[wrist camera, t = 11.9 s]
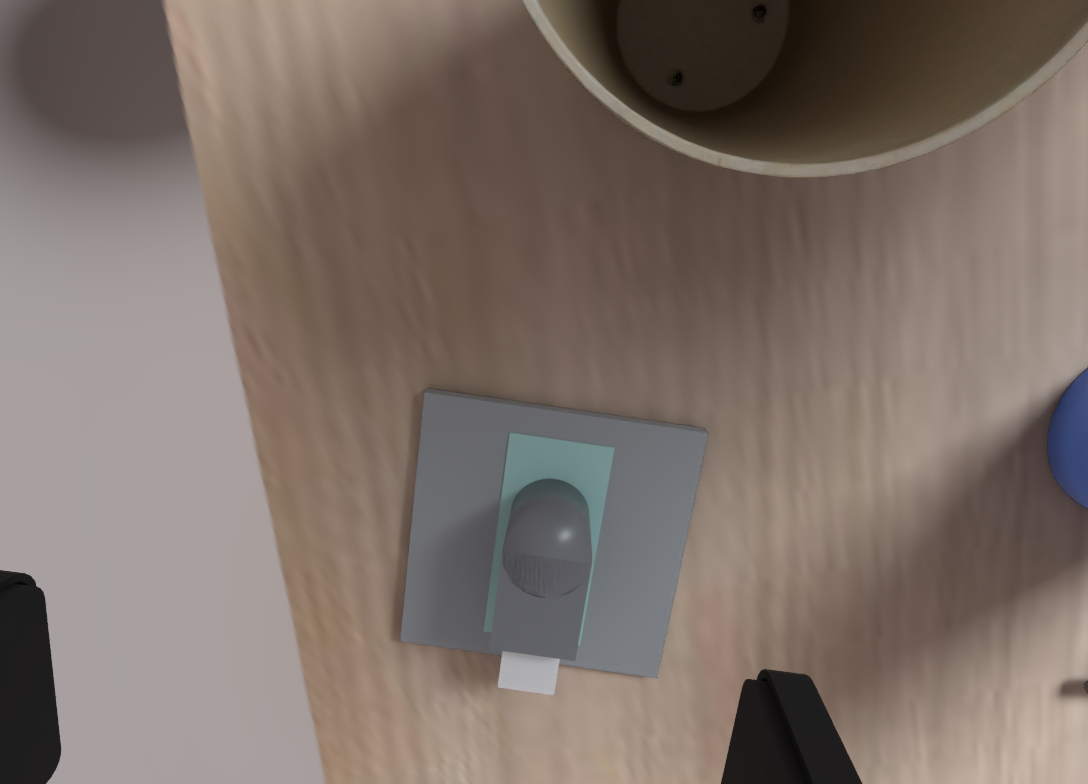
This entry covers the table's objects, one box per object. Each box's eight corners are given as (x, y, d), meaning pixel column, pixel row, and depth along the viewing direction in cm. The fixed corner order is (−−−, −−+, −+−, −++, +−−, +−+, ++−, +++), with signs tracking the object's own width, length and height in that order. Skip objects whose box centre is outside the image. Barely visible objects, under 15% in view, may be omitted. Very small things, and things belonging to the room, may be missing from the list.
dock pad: (705, 428, 33) (708, 433, 33) (655, 668, 37) (657, 679, 36) (427, 388, 33) (423, 393, 33) (403, 632, 37) (399, 642, 36)
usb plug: (515, 473, 33) (507, 509, 29) (595, 484, 33) (598, 522, 29) (492, 646, 36) (482, 703, 32) (566, 657, 36) (566, 715, 32)
